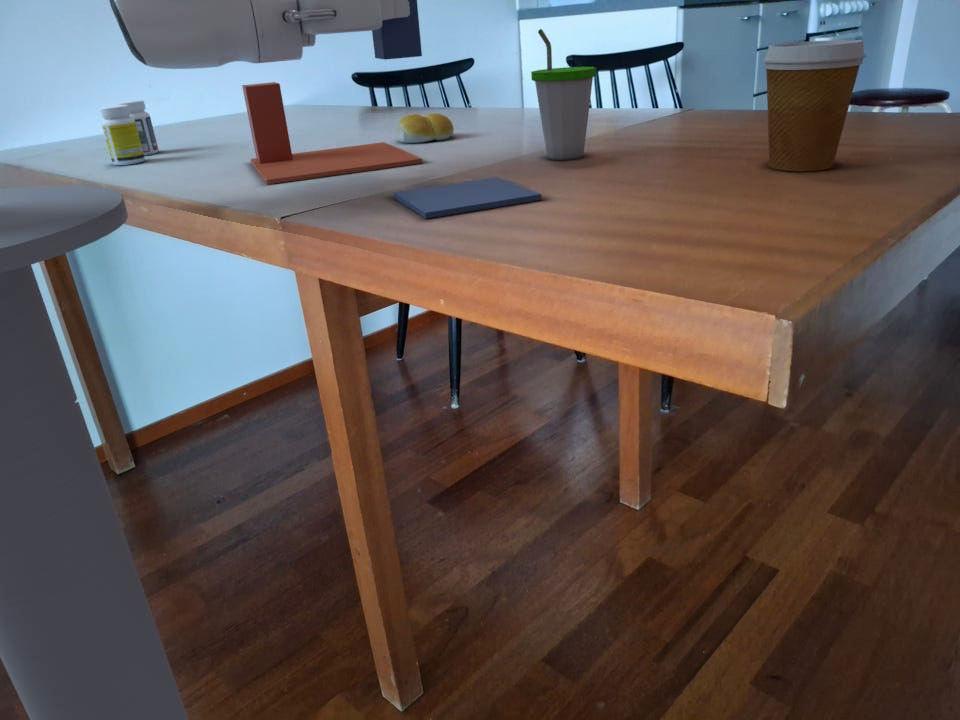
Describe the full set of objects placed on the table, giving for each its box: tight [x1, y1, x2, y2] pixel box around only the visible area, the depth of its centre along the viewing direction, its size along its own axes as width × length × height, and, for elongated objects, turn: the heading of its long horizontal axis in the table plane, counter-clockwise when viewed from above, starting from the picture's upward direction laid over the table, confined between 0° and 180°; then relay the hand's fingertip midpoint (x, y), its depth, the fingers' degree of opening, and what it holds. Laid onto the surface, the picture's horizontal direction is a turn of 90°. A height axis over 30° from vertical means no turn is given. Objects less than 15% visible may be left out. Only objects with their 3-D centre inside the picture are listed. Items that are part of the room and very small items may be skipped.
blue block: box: [371, 0, 423, 61], centre depth 82 cm, size 4×4×10 cm
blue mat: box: [392, 176, 542, 220], centre depth 74 cm, size 12×11×1 cm
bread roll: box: [395, 112, 455, 144], centre depth 114 cm, size 8×9×4 cm
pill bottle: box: [117, 99, 160, 156], centre depth 120 cm, size 5×5×8 cm
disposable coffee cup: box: [761, 39, 868, 172], centre depth 74 cm, size 10×10×12 cm
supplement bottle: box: [99, 104, 146, 166], centre depth 111 cm, size 5×5×8 cm
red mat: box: [250, 141, 423, 185], centre depth 99 cm, size 20×19×1 cm
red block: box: [241, 81, 293, 164], centre depth 100 cm, size 4×4×10 cm
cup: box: [530, 28, 597, 161], centre depth 88 cm, size 8×8×15 cm
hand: (400, 8), depth 83 cm, fingers closed on blue block, 4 cm apart
